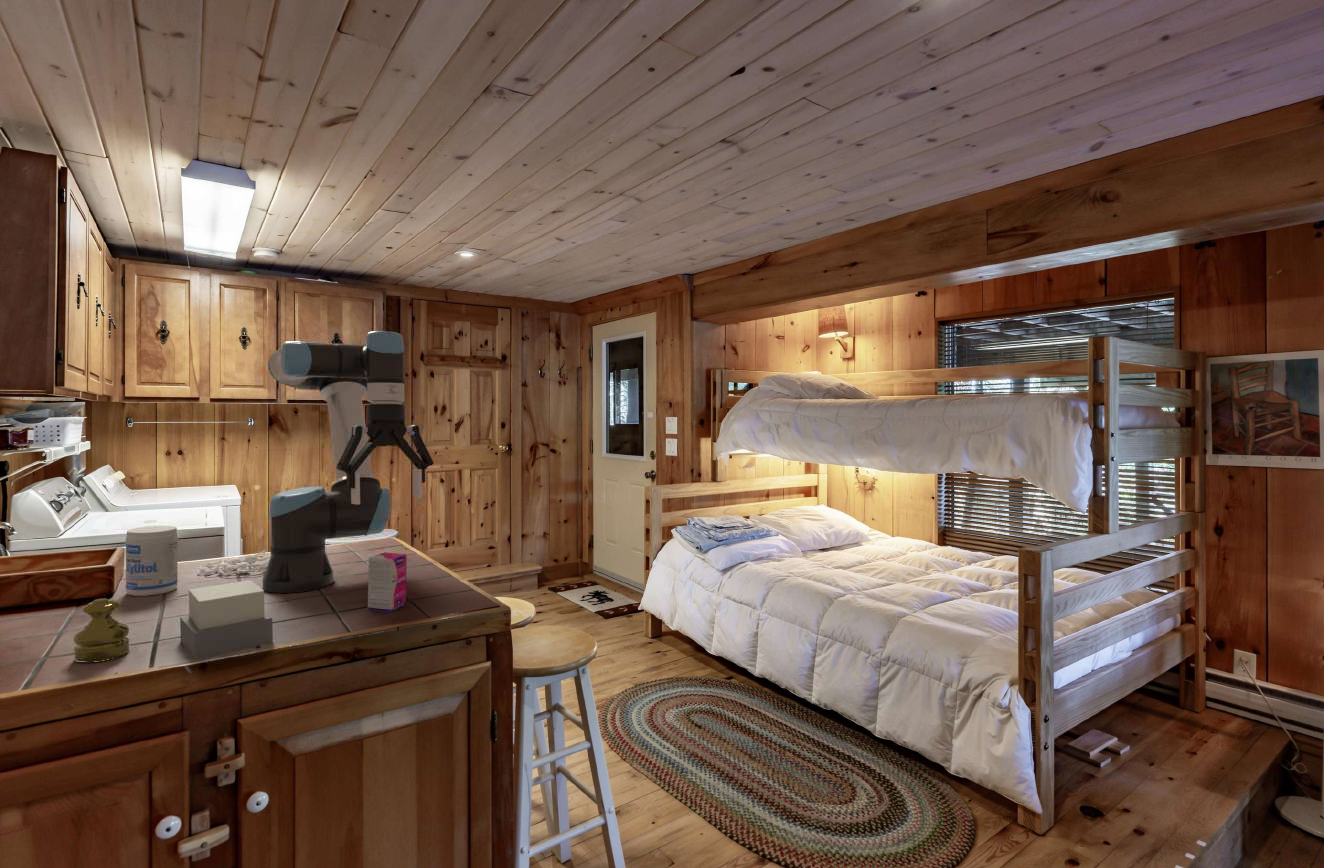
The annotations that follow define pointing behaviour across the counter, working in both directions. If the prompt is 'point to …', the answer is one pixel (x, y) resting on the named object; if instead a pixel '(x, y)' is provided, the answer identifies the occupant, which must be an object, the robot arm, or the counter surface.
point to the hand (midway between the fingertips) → (387, 501)
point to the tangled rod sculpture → (235, 565)
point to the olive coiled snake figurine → (101, 633)
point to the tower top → (226, 604)
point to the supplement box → (387, 582)
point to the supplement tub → (151, 560)
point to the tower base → (225, 636)
